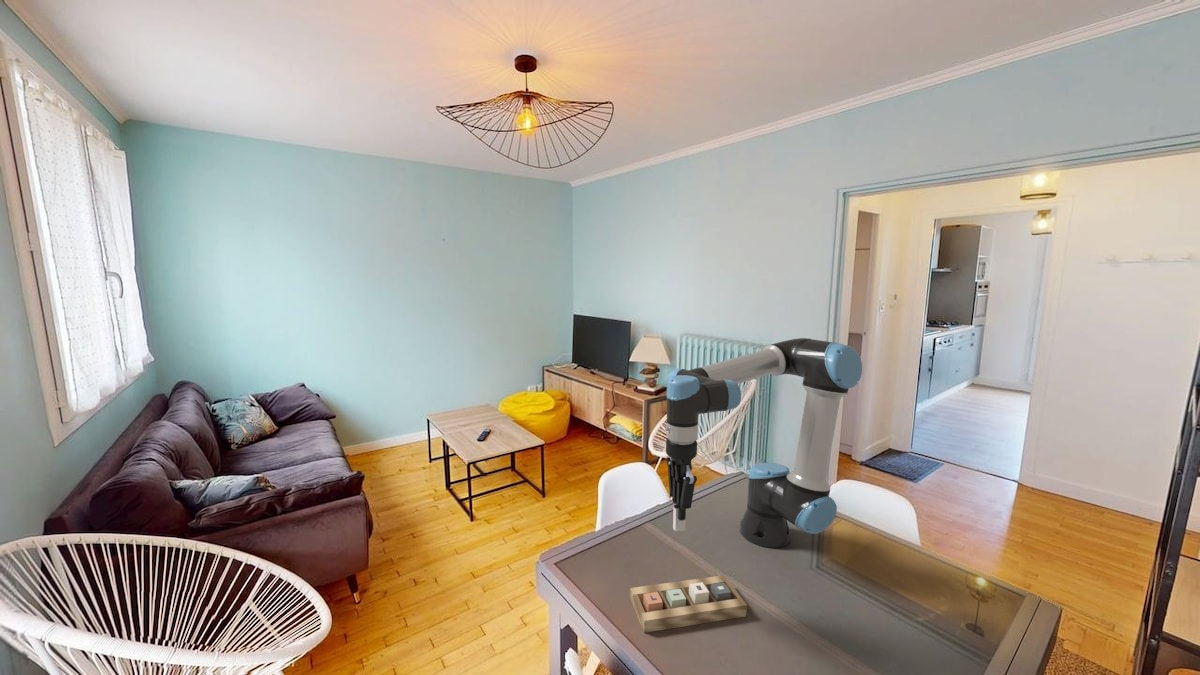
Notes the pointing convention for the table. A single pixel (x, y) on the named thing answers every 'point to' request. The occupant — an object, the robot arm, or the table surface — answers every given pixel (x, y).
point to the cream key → (698, 593)
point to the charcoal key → (720, 592)
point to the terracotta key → (652, 602)
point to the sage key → (675, 598)
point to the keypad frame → (690, 612)
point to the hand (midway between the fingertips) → (679, 529)
